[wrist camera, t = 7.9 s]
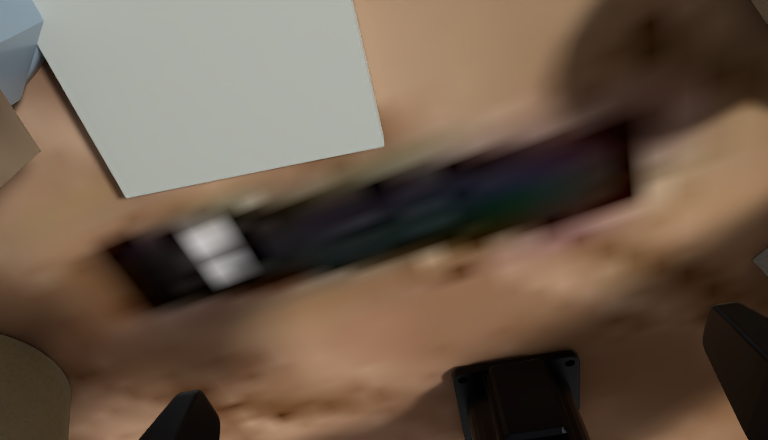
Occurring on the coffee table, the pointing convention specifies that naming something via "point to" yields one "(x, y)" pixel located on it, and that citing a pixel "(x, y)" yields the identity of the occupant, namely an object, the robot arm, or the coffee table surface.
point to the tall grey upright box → (762, 261)
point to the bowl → (18, 46)
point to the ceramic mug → (762, 8)
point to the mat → (211, 84)
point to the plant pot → (31, 394)
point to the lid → (13, 142)
